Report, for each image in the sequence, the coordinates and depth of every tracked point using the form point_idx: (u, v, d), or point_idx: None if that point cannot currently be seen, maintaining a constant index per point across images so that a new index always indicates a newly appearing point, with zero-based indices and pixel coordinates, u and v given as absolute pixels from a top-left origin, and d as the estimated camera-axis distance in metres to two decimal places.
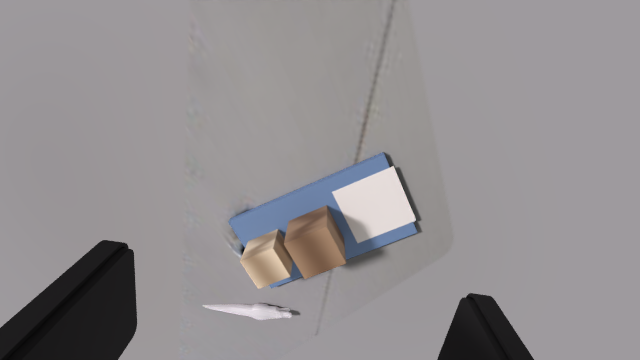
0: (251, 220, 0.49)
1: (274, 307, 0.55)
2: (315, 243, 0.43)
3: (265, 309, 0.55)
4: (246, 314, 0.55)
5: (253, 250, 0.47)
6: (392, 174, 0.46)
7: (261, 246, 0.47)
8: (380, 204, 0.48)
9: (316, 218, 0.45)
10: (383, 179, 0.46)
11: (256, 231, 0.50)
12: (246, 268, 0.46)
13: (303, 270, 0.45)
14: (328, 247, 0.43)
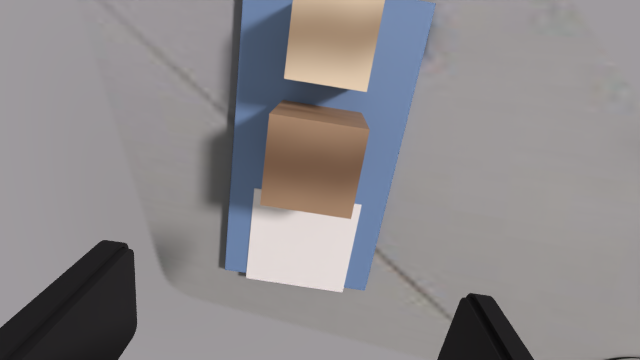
0: (406, 50, 0.24)
1: None
2: (332, 183, 0.21)
3: None
4: None
5: None
6: (332, 286, 0.31)
7: None
8: (298, 250, 0.30)
9: None
10: (333, 273, 0.31)
11: (381, 42, 0.24)
12: None
13: (290, 124, 0.20)
14: (310, 198, 0.22)
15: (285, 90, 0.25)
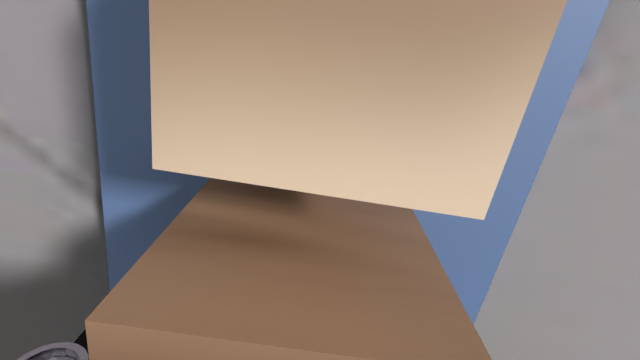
0: None
1: None
2: None
3: None
4: None
5: None
6: None
7: None
8: None
9: None
10: None
11: None
12: None
13: (178, 357, 0.05)
14: None
15: None
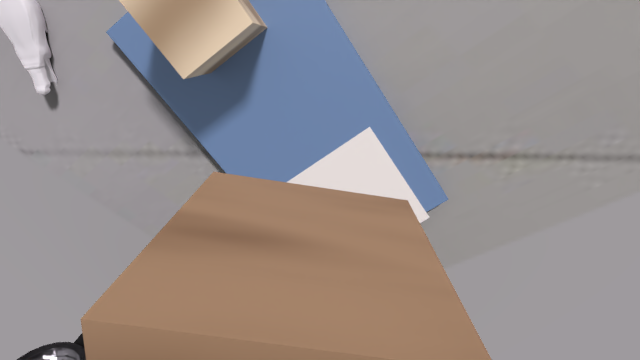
0: None
1: (47, 49, 0.24)
2: None
3: (32, 27, 0.23)
4: None
5: None
6: None
7: None
8: None
9: None
10: None
11: None
12: None
13: (175, 355, 0.05)
14: None
15: (219, 91, 0.24)
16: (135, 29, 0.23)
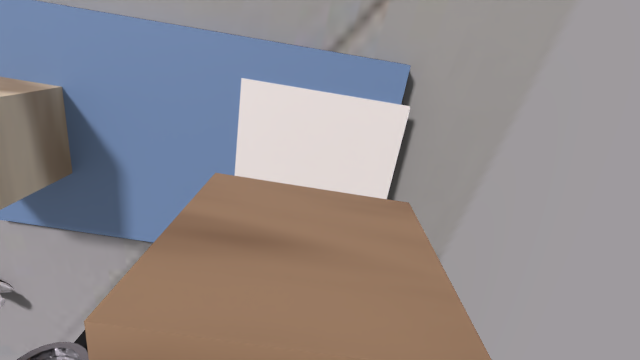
0: None
1: None
2: None
3: None
4: None
5: None
6: (395, 124, 0.18)
7: None
8: (327, 174, 0.20)
9: None
10: (370, 123, 0.18)
11: (1, 59, 0.18)
12: None
13: (178, 358, 0.05)
14: None
15: (95, 182, 0.20)
16: None
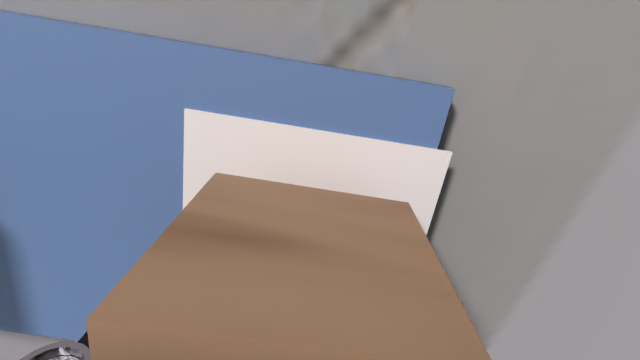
0: None
1: None
2: None
3: None
4: None
5: None
6: (428, 178, 0.12)
7: None
8: None
9: None
10: (389, 176, 0.12)
11: None
12: None
13: (179, 356, 0.05)
14: None
15: None
16: None
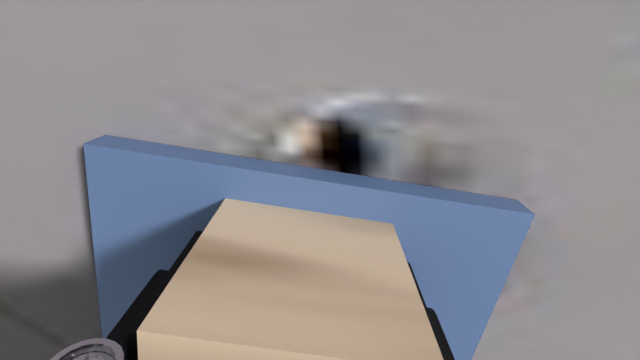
0: (460, 296, 0.11)
1: None
2: None
3: None
4: None
5: None
6: None
7: None
8: None
9: None
10: None
11: None
12: None
13: None
14: None
15: None
16: (147, 186, 0.10)
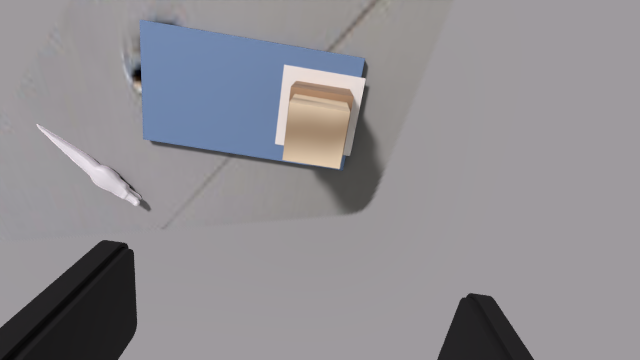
0: (170, 37, 0.36)
1: (125, 183, 0.43)
2: None
3: (113, 178, 0.42)
4: (85, 169, 0.42)
5: None
6: (358, 87, 0.38)
7: None
8: None
9: None
10: (346, 86, 0.38)
11: (168, 55, 0.37)
12: (333, 111, 0.28)
13: (303, 93, 0.32)
14: None
15: (206, 119, 0.39)
16: (151, 126, 0.40)
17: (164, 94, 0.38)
